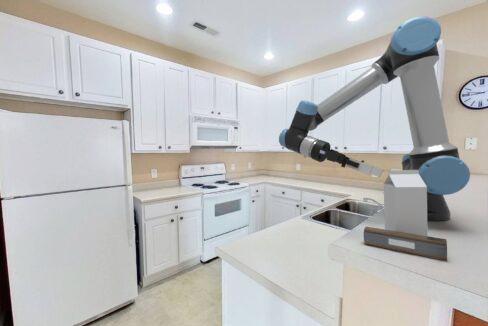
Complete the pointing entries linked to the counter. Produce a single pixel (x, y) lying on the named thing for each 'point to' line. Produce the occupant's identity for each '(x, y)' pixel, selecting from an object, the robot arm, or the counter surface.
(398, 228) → the milk carton
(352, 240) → the counter surface
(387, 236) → the price rail
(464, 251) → the counter surface
